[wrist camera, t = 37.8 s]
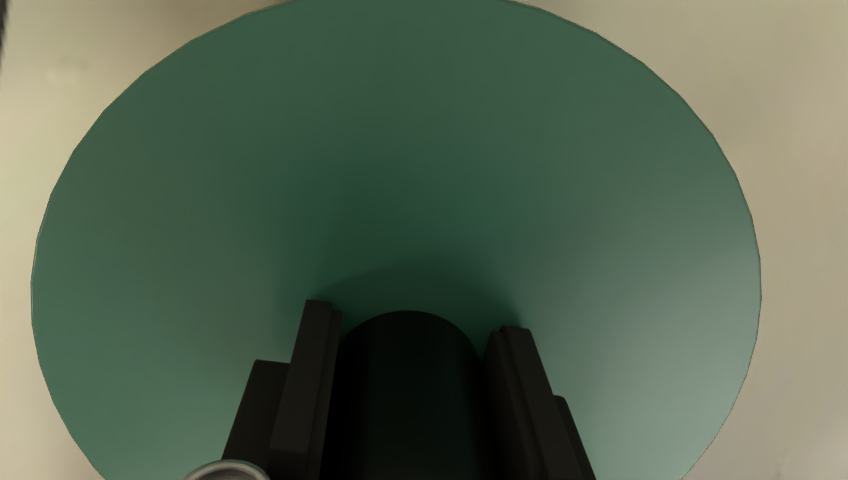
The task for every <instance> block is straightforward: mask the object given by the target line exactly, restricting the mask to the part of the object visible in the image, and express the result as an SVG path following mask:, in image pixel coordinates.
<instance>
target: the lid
mask: <svg viewBox="0 0 848 480" xmlns="http://www.w3.org/2000/svg"><path fill="white" fill-rule="evenodd" d="M306 299H309V300H317V301H324V302H332V303H333V309H332V310H338V311H343V313H342V320H341V327H340V334H339V341H338V348H337V355H336V362H335V369H334V376H333V383H332V390H331V397H330V404H329V411H328V418H327V425H326V432H325V439H324V446H323V453H322V460H321V467H320V473H319V480H503V477H502V472H501V467H500V462H499V457H498V452H497V447H496V442H495V438H494V433H493V428H492V423H491V418H490V413H489V408H488V403H487V399H486V394H485V389H484V384H483V379H482V374H481V369H480V368H481V364H482V361H483V357H484V353H485V350H486V346H487V343H488V339H489V336H490V333H491V332H492V331H498V332H499V330H500V328H501V326H503V325H505V326H513V327H520V328H528V329H530V331H531V333H532V336H533V339H534V341H535V344H536V347H537V350H538V353H539V356H540V358H541V361H542V364H543V367H544V370H545V372H546V375H547V378H548V381H549V384H550V386H551V389H552V392H553V395H559V396H562V397H564V398H565V400H566V402H567V404H568V406H569V409H570V412H571V414H572V417H573V419H574V422H575V425H576V427H577V430H578V433H579V435H580V438H581V440H582V443H583V446H584V448H585V451H586V454H587V456H588V459H589V461H590V464H591V467H592V469H593V472H594V475H595V477H596V480H681V479H682V478H683V477H684V476H685V475H686V474H687V473H688V472H689V471H690V470H691V468H692V467H693V466H694V464H695V463H696V462H697V461H698V459H699V458H700V457H701V455H702V454H703V453H704V452H705V450H706V449H707V448H708V446H709V445H710V444H711V443H712V441H713V440H714V438H715V436H716V435H717V433H718V431H719V430H720V428H721V426H722V425H723V423H724V421H725V420H726V418H727V416H728V415H729V413H730V411H731V410H732V408H733V405H734V403H735V401H736V398H737V396H738V394H739V391H740V389H741V387H742V385H743V382H744V380H745V378H746V375H747V372H748V368H749V365H750V361H751V358H752V354H753V350H754V347H755V343H756V339H757V333H758V325H759V317H760V308H761V300H762V295H761V267H760V255H759V250H758V245H757V240H756V235H755V230H754V225H753V220H752V215H751V213H750V210H749V207H748V205H747V202H746V200H745V197H744V194H743V192H742V189H741V186H740V184H739V181H738V178H737V176H736V174H735V172H734V170H733V169H732V167H731V165H730V163H729V162H728V160H727V158H726V156H725V155H724V153H723V151H722V150H721V148H720V146H719V144H718V143H717V141H716V139H715V138H714V136H713V134H712V133H711V132H710V131H709V129H708V128H707V127H706V126H705V125H704V123H703V122H702V121H701V120H700V118H699V117H698V116H697V115H696V114H695V112H694V111H693V110H692V109H691V108H690V106H689V105H688V104H687V103H686V102H685V100H684V99H683V98H682V97H681V96H680V95H679V94H678V93H677V92H676V91H675V90H673V89H672V88H671V87H670V86H669V85H668V84H667V83H665V82H664V81H663V80H662V79H661V78H660V77H659V76H657V75H656V74H655V73H654V72H653V71H652V70H651V69H649V68H648V67H647V66H646V65H645V64H644V63H643V62H641V61H640V60H638V59H636V58H635V57H633V56H632V55H630V54H629V53H627V52H625V51H624V50H622V49H621V48H619V47H618V46H616V45H614V44H613V43H611V42H610V41H608V40H607V39H605V38H603V37H602V36H600V35H599V34H597V33H595V32H593V31H591V30H589V29H586V28H584V27H582V26H580V25H577V24H575V23H573V22H570V21H568V20H566V19H564V18H561V17H559V16H557V15H555V14H552V13H550V12H548V11H546V10H543V9H541V8H538V7H535V6H531V5H527V4H524V3H520V2H516V1H513V0H288V1H285V2H281V3H278V4H275V5H272V6H268V7H265V8H262V9H259V10H256V11H252V12H249V13H247V14H244V15H242V16H240V17H238V18H236V19H234V20H232V21H230V22H228V23H226V24H224V25H222V26H219V27H217V28H215V29H213V30H211V31H209V32H207V33H205V34H203V35H201V36H199V37H197V38H195V39H193V40H190V41H189V42H188V43H186V44H185V45H183V46H182V47H180V48H179V49H177V50H176V51H174V52H173V53H172V54H170V55H169V56H167V57H166V58H164V59H163V60H161V61H160V62H158V63H157V64H155V65H154V66H153V67H151V68H150V69H148V70H147V71H145V72H144V73H143V74H142V75H141V76H140V77H138V78H137V79H136V80H135V81H134V82H133V83H132V84H131V85H130V86H129V87H128V88H127V89H126V90H125V91H124V92H123V93H122V94H121V95H120V96H118V97H117V98H116V99H115V100H114V101H113V102H112V103H111V104H110V105H109V106H108V107H107V108H106V109H105V110H104V111H103V112H102V114H101V115H100V116H99V118H98V119H97V120H96V122H95V123H94V124H93V126H92V127H91V128H90V129H89V131H88V132H87V133H86V135H85V136H84V137H83V139H82V140H81V141H80V143H79V144H78V145H77V147H76V148H75V149H74V151H73V152H72V154H71V156H70V158H69V160H68V162H67V164H66V166H65V168H64V170H63V172H62V173H61V175H60V177H59V179H58V181H57V183H56V185H55V187H54V189H53V191H52V193H51V195H50V198H49V201H48V204H47V208H46V211H45V214H44V217H43V220H42V223H41V226H40V229H39V232H38V236H37V240H36V247H35V254H34V261H33V268H32V275H31V316H32V328H33V333H34V339H35V344H36V349H37V354H38V359H39V365H40V367H41V370H42V373H43V376H44V378H45V381H46V384H47V387H48V390H49V392H50V395H51V398H52V401H53V403H54V405H55V407H56V409H57V410H58V412H59V414H60V416H61V418H62V420H63V422H64V424H65V425H66V427H67V429H68V431H69V433H70V435H71V437H72V438H73V439H74V441H75V442H76V443H77V445H78V446H79V448H80V449H81V450H82V452H83V453H84V455H85V456H86V457H87V459H88V460H89V461H90V463H91V464H92V466H93V467H94V468H95V469H96V470H97V471H98V472H99V474H100V475H101V476H102V477H103V478H104V479H105V480H183V479H184V477H185V476H186V475H187V474H188V473H190V472H191V471H193V470H195V469H196V468H198V467H199V466H201V465H204V464H207V463H210V462H213V461H216V460H221V458H222V455H223V452H224V449H225V446H226V443H227V440H228V437H229V434H230V431H231V428H232V425H233V422H234V419H235V417H236V414H237V411H238V408H239V405H240V402H241V399H242V396H243V393H244V390H245V387H246V384H247V381H248V378H249V375H250V372H251V370H252V367H253V364H254V362H255V360H256V359H259V360H267V361H275V362H284V363H290V361H291V357H292V354H293V350H294V346H295V342H296V338H297V334H298V330H299V326H300V322H301V318H302V314H303V310H304V306H305V302H306Z"/></svg>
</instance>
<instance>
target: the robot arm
mask: <svg viewBox="0 0 848 480" xmlns="http://www.w3.org/2000/svg"><path fill="white" fill-rule="evenodd" d="M332 309H333V303H332V302H324V301H317V300H309V299H306V302H305V306H304V310H303V314H302V318H301V322H300V326H299V330H298V334H297V338H296V342H295V346H294V350H293V354H292V357H291V361H290V363H284V362H275V361H267V360H259V359H256V360H255V362H254V364H253V367H252V370H251V372H250V375H249V378H248V381H247V384H246V387H245V390H244V393H243V396H242V399H241V402H240V405H239V408H238V411H237V414H236V417H235V419H234V422H233V425H232V428H231V431H230V434H229V437H228V440H227V443H226V446H225V449H224V452H223V455H222V458H221V460H216V461H213V462H210V463H207V464H204V465H201V466H199V467H198V468H196V469H195V470H193V471H191V472H190V473H188V474H187V475H186V476H185V477H184V479H183V480H319V473H320V467H321V460H322V453H323V446H324V439H325V432H326V425H327V418H328V411H329V404H330V397H331V390H332V383H333V376H334V369H335V362H336V355H337V348H338V341H339V334H340V327H341V320H342V313H343V311H338V310H332ZM480 369H481V374H482V379H483V384H484V389H485V394H486V399H487V403H488V408H489V413H490V418H491V423H492V428H493V433H494V438H495V442H496V447H497V452H498V457H499V462H500V467H501V472H502V477H503V480H596V477H595V475H594V472H593V469H592V467H591V464H590V461H589V459H588V456H587V454H586V451H585V448H584V446H583V443H582V440H581V438H580V435H579V433H578V430H577V427H576V425H575V422H574V419H573V417H572V414H571V412H570V409H569V406H568V404H567V402H566V400H565V398H564V397H562V396H559V395H553V392H552V389H551V386H550V384H549V381H548V378H547V375H546V372H545V370H544V367H543V364H542V361H541V358H540V356H539V353H538V350H537V347H536V344H535V341H534V339H533V336H532V333H531V331H530V329H528V328H520V327H513V326H505V325H503V326H501V328H500V330H499V332H498V331H492V332H491V333H490V336H489V339H488V343H487V346H486V350H485V353H484V357H483V361H482V364H481V368H480Z"/></svg>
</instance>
